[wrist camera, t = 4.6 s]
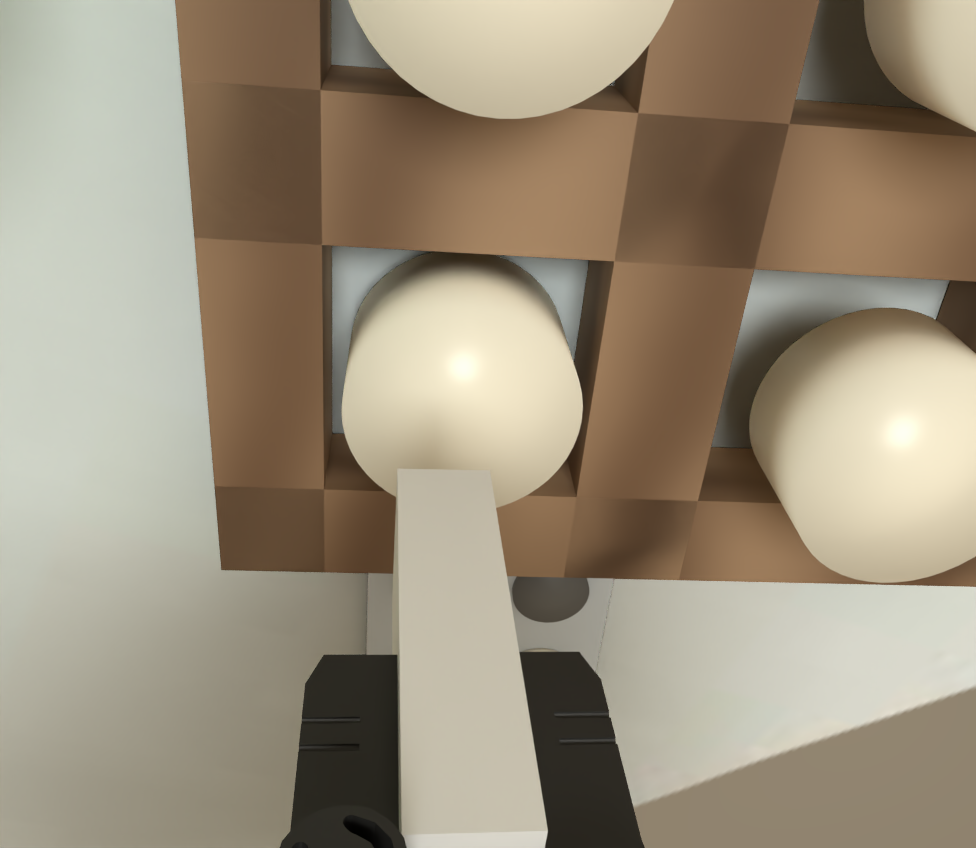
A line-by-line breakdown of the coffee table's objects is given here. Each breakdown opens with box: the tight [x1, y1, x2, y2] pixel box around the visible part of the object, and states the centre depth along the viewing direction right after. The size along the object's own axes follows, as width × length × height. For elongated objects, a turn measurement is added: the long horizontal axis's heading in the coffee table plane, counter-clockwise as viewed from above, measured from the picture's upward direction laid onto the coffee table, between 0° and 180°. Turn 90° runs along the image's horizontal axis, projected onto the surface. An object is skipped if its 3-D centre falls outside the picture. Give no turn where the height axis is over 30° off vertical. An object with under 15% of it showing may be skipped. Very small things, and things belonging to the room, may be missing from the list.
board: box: [175, 0, 976, 587], centre depth 20 cm, size 20×20×2 cm
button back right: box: [749, 308, 976, 583], centre depth 20 cm, size 5×5×3 cm
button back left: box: [342, 251, 583, 508], centre depth 21 cm, size 5×5×3 cm
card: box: [366, 573, 614, 673], centre depth 28 cm, size 7×7×1 cm
